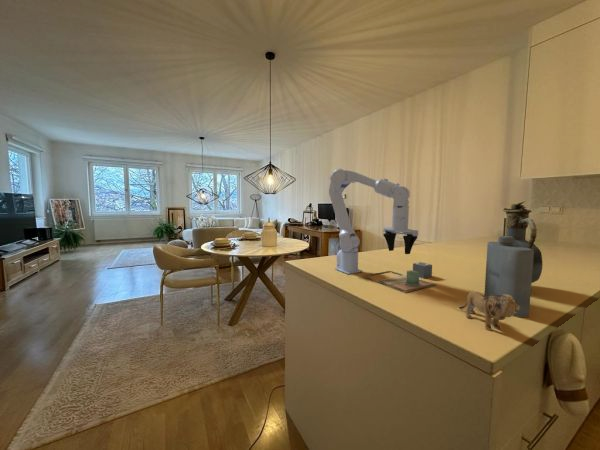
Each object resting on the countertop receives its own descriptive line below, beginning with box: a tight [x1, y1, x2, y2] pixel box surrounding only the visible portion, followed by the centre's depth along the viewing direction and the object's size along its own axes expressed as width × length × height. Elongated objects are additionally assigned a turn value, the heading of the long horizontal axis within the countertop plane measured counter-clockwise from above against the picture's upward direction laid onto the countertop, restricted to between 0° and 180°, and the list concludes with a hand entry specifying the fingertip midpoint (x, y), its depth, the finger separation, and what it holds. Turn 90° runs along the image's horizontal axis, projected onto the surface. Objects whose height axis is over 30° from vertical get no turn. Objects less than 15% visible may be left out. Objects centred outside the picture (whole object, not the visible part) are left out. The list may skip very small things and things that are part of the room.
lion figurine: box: [458, 290, 520, 332], centre depth 61 cm, size 15×5×9 cm, turn 10°
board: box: [361, 270, 437, 294], centre depth 94 cm, size 21×16×1 cm
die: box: [412, 261, 433, 279], centre depth 100 cm, size 5×5×5 cm
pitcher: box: [502, 200, 543, 284], centre depth 83 cm, size 11×19×30 cm, turn 160°
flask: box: [483, 235, 534, 318], centre depth 70 cm, size 15×6×20 cm, turn 169°
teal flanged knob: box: [405, 269, 420, 287], centre depth 88 cm, size 5×5×4 cm
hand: (399, 252), depth 97 cm, fingers open, 7 cm apart
